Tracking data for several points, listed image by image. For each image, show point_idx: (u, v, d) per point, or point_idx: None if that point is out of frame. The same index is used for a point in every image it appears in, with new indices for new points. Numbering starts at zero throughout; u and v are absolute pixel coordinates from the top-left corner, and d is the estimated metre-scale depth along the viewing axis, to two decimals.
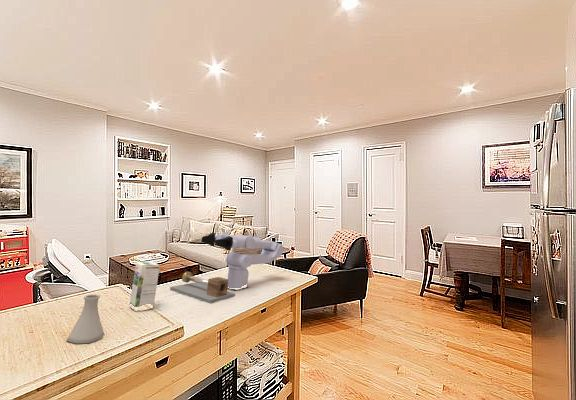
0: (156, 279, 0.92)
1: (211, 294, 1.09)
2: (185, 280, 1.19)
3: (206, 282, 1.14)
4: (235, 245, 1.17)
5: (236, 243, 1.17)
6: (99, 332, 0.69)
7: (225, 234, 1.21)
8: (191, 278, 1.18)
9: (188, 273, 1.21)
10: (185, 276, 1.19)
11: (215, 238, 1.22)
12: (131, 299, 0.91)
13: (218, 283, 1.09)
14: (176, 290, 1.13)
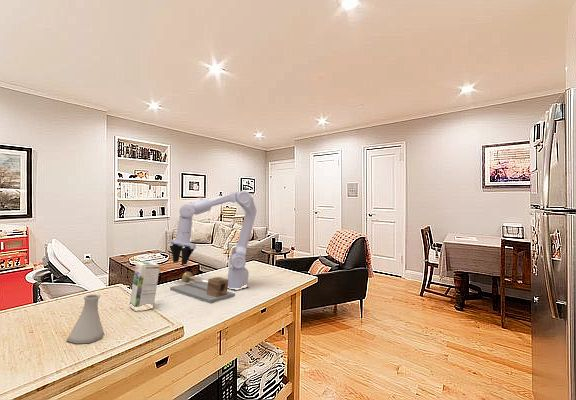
0: (156, 279, 0.92)
1: (211, 294, 1.09)
2: (185, 280, 1.19)
3: (206, 282, 1.14)
4: (194, 247, 1.21)
5: (193, 246, 1.20)
6: (99, 332, 0.69)
7: (177, 243, 1.22)
8: (191, 278, 1.18)
9: (188, 273, 1.21)
10: (185, 276, 1.19)
11: None
12: (131, 299, 0.91)
13: (218, 283, 1.09)
14: (176, 290, 1.13)
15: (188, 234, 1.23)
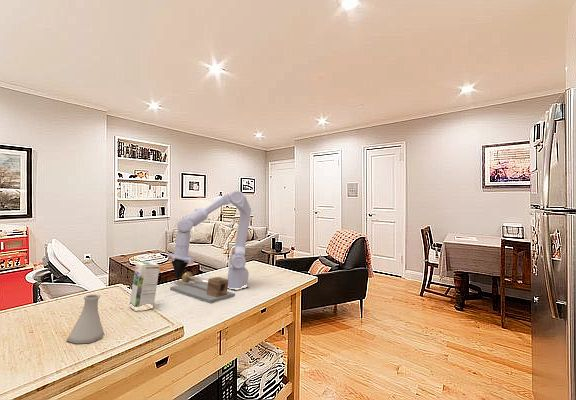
0: (156, 279, 0.92)
1: (211, 294, 1.09)
2: (185, 280, 1.19)
3: (206, 282, 1.14)
4: (192, 261, 1.21)
5: (191, 260, 1.20)
6: (99, 332, 0.69)
7: None
8: (191, 278, 1.18)
9: (188, 273, 1.21)
10: (185, 276, 1.19)
11: (173, 258, 1.25)
12: (131, 299, 0.91)
13: (218, 283, 1.09)
14: (176, 290, 1.13)
15: (186, 248, 1.23)
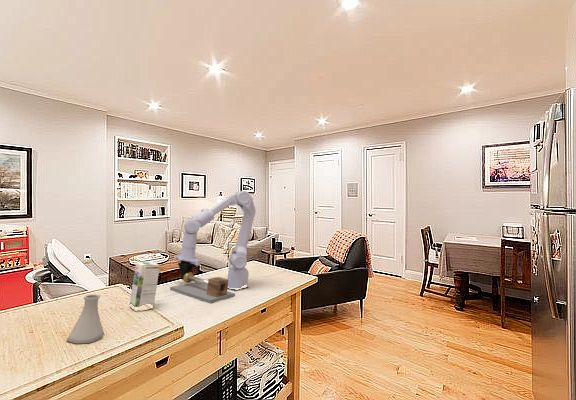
0: (156, 279, 0.92)
1: (211, 294, 1.09)
2: (186, 280, 1.19)
3: None
4: (199, 263, 1.19)
5: (198, 262, 1.18)
6: (99, 332, 0.69)
7: (182, 260, 1.19)
8: (192, 278, 1.18)
9: (189, 273, 1.20)
10: (186, 276, 1.19)
11: (179, 260, 1.23)
12: (131, 299, 0.91)
13: (218, 283, 1.09)
14: (176, 290, 1.13)
15: (193, 250, 1.21)
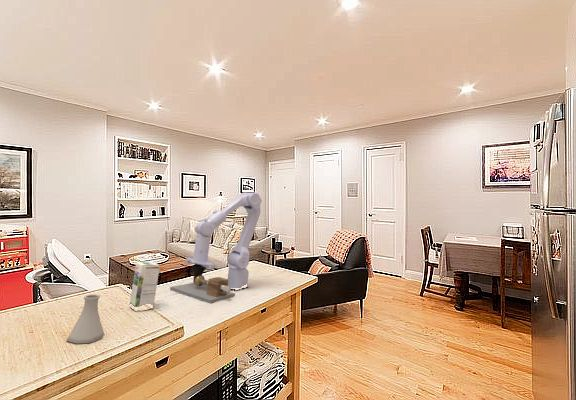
0: (156, 279, 0.92)
1: (211, 294, 1.09)
2: (198, 284, 1.16)
3: (220, 286, 1.10)
4: (213, 267, 1.15)
5: (211, 266, 1.14)
6: (99, 332, 0.69)
7: None
8: (204, 282, 1.15)
9: (201, 277, 1.17)
10: (198, 280, 1.16)
11: (191, 263, 1.20)
12: (131, 299, 0.91)
13: (218, 283, 1.09)
14: (176, 290, 1.13)
15: (206, 253, 1.17)
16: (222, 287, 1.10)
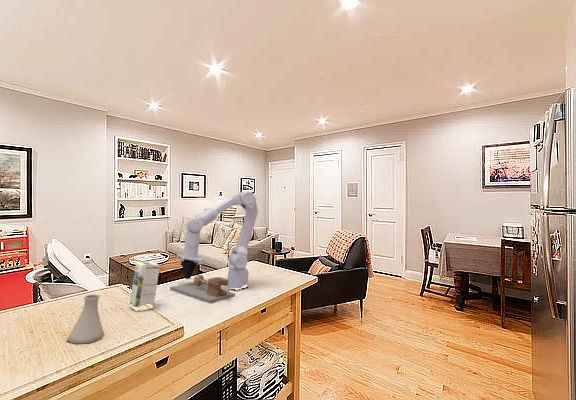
0: (156, 279, 0.92)
1: (211, 294, 1.09)
2: (197, 284, 1.16)
3: None
4: (203, 262, 1.18)
5: (201, 261, 1.17)
6: (99, 332, 0.69)
7: (185, 259, 1.18)
8: (203, 282, 1.15)
9: (200, 276, 1.17)
10: (197, 279, 1.16)
11: (182, 259, 1.23)
12: (131, 299, 0.91)
13: (218, 283, 1.09)
14: (176, 290, 1.13)
15: (196, 249, 1.20)
16: (221, 287, 1.10)
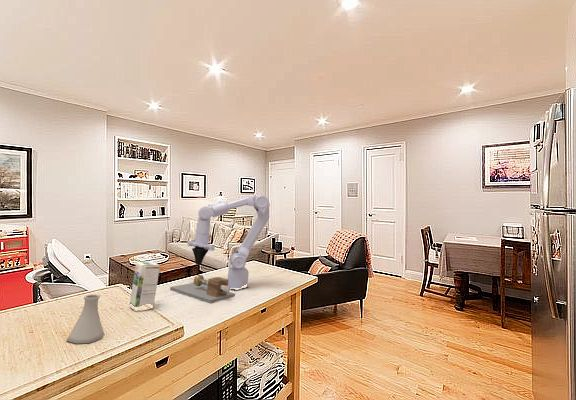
0: (156, 279, 0.92)
1: (211, 294, 1.09)
2: (197, 284, 1.16)
3: None
4: (213, 248, 1.23)
5: (212, 247, 1.22)
6: (99, 332, 0.69)
7: (196, 245, 1.23)
8: (203, 282, 1.15)
9: (200, 276, 1.17)
10: (197, 279, 1.16)
11: (193, 246, 1.27)
12: (131, 299, 0.91)
13: (218, 283, 1.09)
14: (176, 290, 1.13)
15: (206, 236, 1.25)
16: (221, 287, 1.10)
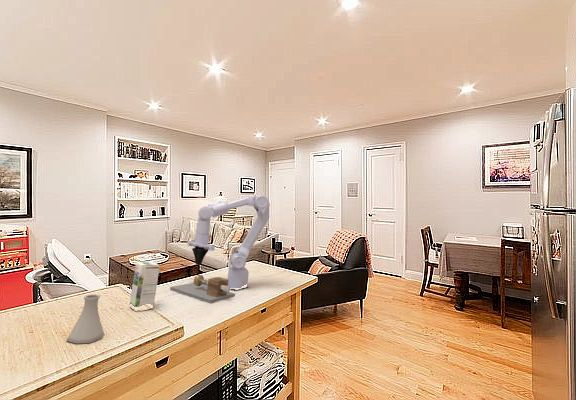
0: (156, 279, 0.92)
1: (211, 294, 1.09)
2: (197, 284, 1.16)
3: None
4: (213, 248, 1.23)
5: (212, 247, 1.22)
6: (99, 332, 0.69)
7: (196, 245, 1.23)
8: (203, 282, 1.15)
9: (200, 276, 1.17)
10: (197, 279, 1.16)
11: (193, 246, 1.27)
12: (131, 299, 0.91)
13: (218, 283, 1.09)
14: (176, 290, 1.13)
15: (206, 236, 1.25)
16: (221, 287, 1.10)
